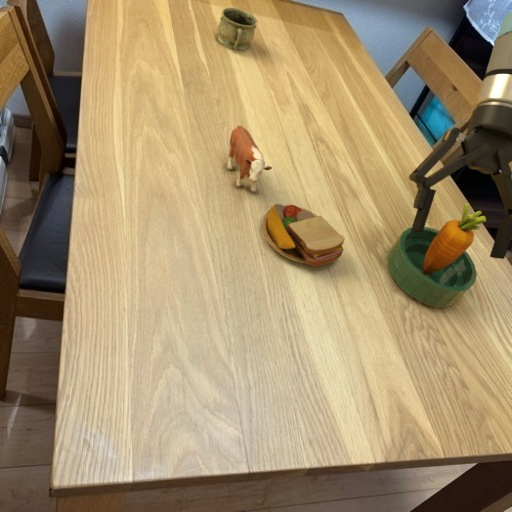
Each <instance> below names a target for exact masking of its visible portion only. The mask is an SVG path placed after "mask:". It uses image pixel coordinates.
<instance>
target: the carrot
mask: <svg viewBox="0 0 512 512" xmlns="http://www.w3.org/2000/svg"><path fill="white" fill-rule="evenodd" d="M469 211H470V203H464V206H463V212H462V216H461V220H460V219H456V220H455V219H453V220H447V221H446V222H445V223H444V225H442V227H441V228H440V230H438V231H439V233H438V234H437V235H436V237H435V238H434V240H433V241H432V243H431V245H430V247H429V249H428V251H427V253H426V256H425V259H424V263H423V269H422V271H423V274H430V273H434V272H437V271H439V270H441V269H443V268H445V267H446V266H448V265H449V264H451V263H452V262H453V261H455V260H456V259H457V258H458V257H459V256H460V255H461V254H462V253H463V252H464V251H467V249H469V247H470V246H471V245H472V244H473V242H474V240H475V239H474V238H475V230H476V231H477V230H480V229H481V228H480V226H479V225H480V224H483V223H485V222H486V221H487V218H486V216H485V215H482V214H483V211H481V210H477V211H476V212H474V213H471V214H469ZM480 215H481V216H480Z"/></svg>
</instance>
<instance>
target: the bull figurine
mask: <svg viewBox="0 0 512 512" xmlns="http://www.w3.org/2000/svg"><path fill="white" fill-rule="evenodd" d="M227 154H228V157H229V160H228V162H227V167H226V169H227V170H229V171H233V169H234V166H233V159H234V160H235V162H236V164H238V166H239V167H240V171H239V172H240V173H239V178H238V179H236V184H235V187H237V188H241V187H242V184H243V179H245V177H247V179H248V181H250V182H251V184H250V190H249V191H250V192H251V193H256V191H257V189H256V183H257V182H258V180H259V177H260V176H261V174H262V173H263V171H270V170H272V169H273V167H272V166H270V165H265V164H266V161H265V159H264V155H263V153H262V152H261V151H260V148H259V147H258V145H257V143H256V142H255V140H254V138H253V137H252V135H251V133H250V132H249V130H248V129H246V128H245V127H244V126H243V125H241V124H240V125H238V126H237V127H235V128H233V130H232V132H231V134H230V138H229V144H228V147H227Z"/></svg>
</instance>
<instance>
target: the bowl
mask: <svg viewBox="0 0 512 512" xmlns="http://www.w3.org/2000/svg"><path fill="white" fill-rule="evenodd" d="M411 228H412V226H411V227H408V228H406V229H405V230H404V231H402V232H401V234H400V235H399V236H398V238H397V239H396V241H395V242H394V244H392V246H391V248H390V249H389V251H388V254H387V256H386V266H387V268H388V271H389V273H390V276H391V277H392V279H393V280H394V282H395V283H396V284H397V285H398V287H399V288H400V289H401V290H402V291H404V292H405V293H406V294H407V295H408V296H410V297H411V298H412V299H414V300H416V301H418V302H420V303H421V304H423V305H428V306H430V307H434V308H447V307H450V306H453V305H455V304H456V303H458V301H459V300H460V299H461V298H462V297H463V296H464V295H465V294H466V293H467V292H468V291H469V290H470V289H471V288H472V287H473V286H474V285H475V284H476V280H477V276H478V274H477V268H476V264H475V262H474V261H473V259H472V257H471V255H470V254H469V253H468V252H467V250H465V251H464V252H463V253H462V254H461V255H460V256H459V257H458V258H457V259H456V260H455V261H453V262H452V263H451V264H449V265H448V266H446V267H445V268H443V269H441V270H439V271H437V272H434V273H430V274H423V271H422V269H423V263H424V259H425V256H426V253H427V251H428V249H429V247H430V245H431V243H432V241H433V240H434V238H435V237H436V235H437V234H438V233H439V231H440V230H438V229H436V228H432V227H429V226H425V227H424V230H423V232H414V231H411Z"/></svg>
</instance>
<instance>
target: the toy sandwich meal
mask: <svg viewBox="0 0 512 512" xmlns="http://www.w3.org/2000/svg"><path fill="white" fill-rule="evenodd" d="M261 230H262V234H263V236H264V238H265V240H266V241H267V243H268V244H269V246H271V248H272V249H273V250H274V251H276V252H277V253H278V254H279V255H281V256H282V257H284V258H286V259H287V260H290V261H293V262H295V263H300V264H306V265H308V266H312V267H317V266H325V265H328V264H331V263H333V262H335V261H337V260H338V259H339V258H340V257H341V256H342V255H343V252H344V250H345V249H344V247H343V245H344V242H345V239H346V238H345V236H343V235H342V234H341V233H339V232H338V231H337V230H336V229H335V228H334V227H333V226H332V225H331V224H330V223H329V222H328V221H327V220H326V219H325V218H324V217H323V216H322V215H317V214H316V213H313V212H312V211H310V210H308V209H306V208H303V207H300V206H298V205H294V204H289V205H284V204H280V203H279V204H278V203H277V204H276V203H275V204H274V205H272V206H270V208H269V210H268V211H267V212H266V213H265V214H264V216H263V218H262V221H261Z"/></svg>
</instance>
